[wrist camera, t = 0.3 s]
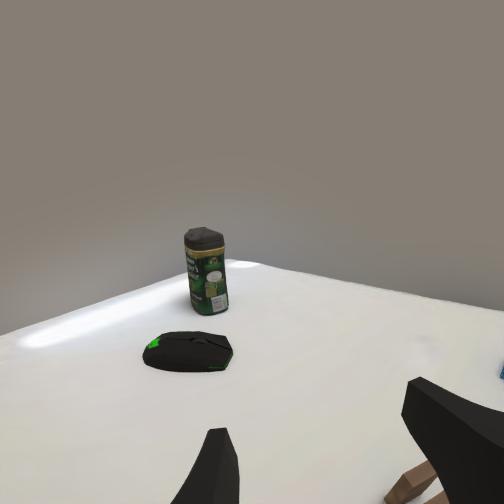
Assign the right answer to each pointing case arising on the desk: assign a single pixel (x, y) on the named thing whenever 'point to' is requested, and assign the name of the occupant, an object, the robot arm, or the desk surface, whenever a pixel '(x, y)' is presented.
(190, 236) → the coffee jar
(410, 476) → the domino
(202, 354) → the computer mouse
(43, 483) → the desk surface
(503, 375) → the perfume bottle
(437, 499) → the domino
